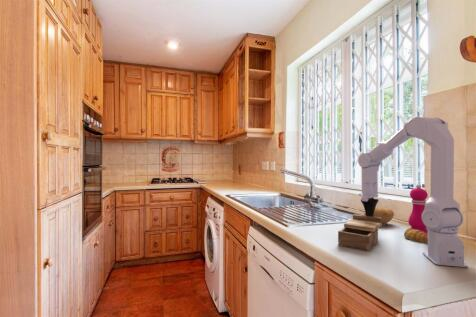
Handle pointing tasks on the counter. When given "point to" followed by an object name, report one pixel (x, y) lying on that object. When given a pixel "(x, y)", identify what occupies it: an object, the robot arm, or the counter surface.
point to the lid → (364, 223)
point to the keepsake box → (357, 239)
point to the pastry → (416, 235)
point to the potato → (383, 214)
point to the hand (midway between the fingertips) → (369, 217)
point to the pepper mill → (418, 208)
